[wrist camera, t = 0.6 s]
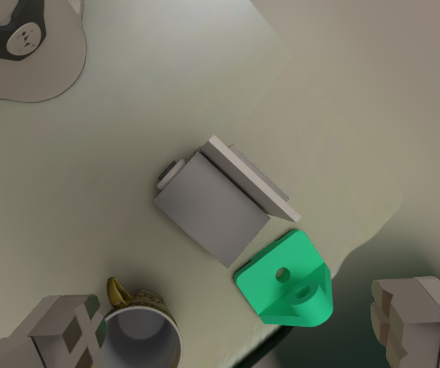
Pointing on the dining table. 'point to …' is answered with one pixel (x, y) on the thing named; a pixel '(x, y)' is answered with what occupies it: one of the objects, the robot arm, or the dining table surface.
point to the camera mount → (288, 283)
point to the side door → (248, 179)
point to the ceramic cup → (138, 332)
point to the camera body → (209, 207)
